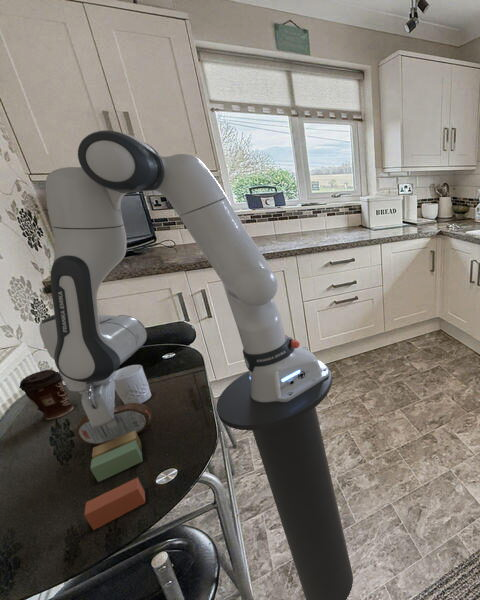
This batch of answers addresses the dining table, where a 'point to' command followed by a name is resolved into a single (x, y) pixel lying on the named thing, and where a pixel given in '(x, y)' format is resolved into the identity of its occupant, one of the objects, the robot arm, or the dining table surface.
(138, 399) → the white cup
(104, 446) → the beech block
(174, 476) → the dining table surface
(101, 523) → the terracotta block
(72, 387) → the robot arm
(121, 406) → the tin
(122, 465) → the sage block
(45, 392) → the coffee cup
